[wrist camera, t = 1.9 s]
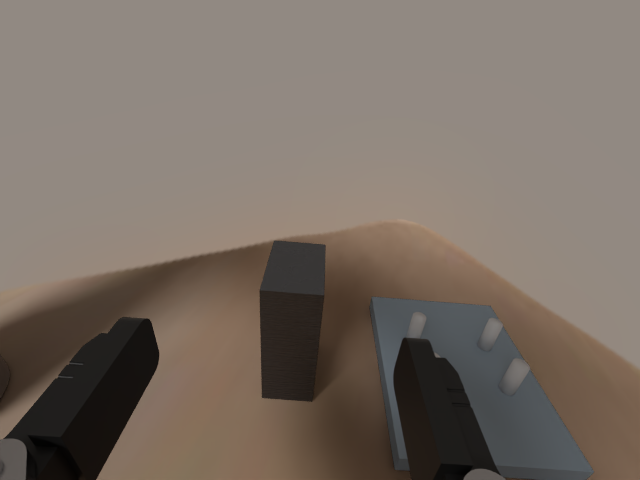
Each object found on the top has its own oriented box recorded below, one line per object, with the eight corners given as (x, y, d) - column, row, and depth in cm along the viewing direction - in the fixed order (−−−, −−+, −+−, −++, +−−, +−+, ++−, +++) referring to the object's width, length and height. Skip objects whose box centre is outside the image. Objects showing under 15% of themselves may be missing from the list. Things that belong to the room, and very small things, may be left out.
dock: (394, 469, 22) (409, 433, 19) (369, 307, 36) (376, 274, 33) (582, 482, 22) (619, 448, 20) (485, 315, 36) (500, 284, 33)
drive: (261, 397, 25) (259, 290, 20) (273, 338, 31) (274, 240, 25) (312, 401, 26) (324, 295, 20) (315, 341, 31) (325, 244, 25)
